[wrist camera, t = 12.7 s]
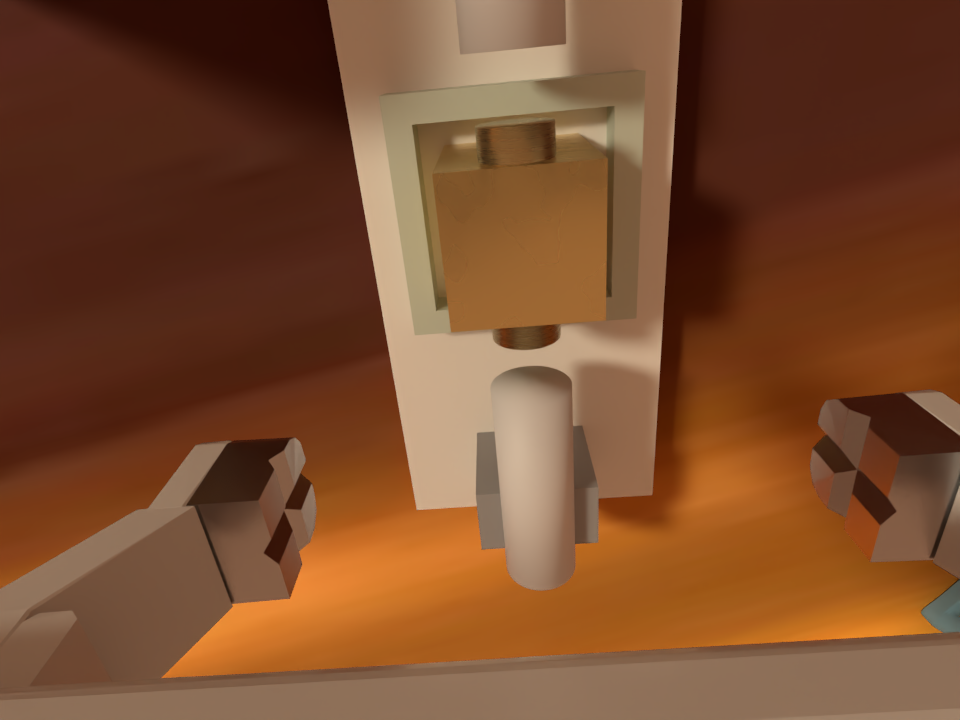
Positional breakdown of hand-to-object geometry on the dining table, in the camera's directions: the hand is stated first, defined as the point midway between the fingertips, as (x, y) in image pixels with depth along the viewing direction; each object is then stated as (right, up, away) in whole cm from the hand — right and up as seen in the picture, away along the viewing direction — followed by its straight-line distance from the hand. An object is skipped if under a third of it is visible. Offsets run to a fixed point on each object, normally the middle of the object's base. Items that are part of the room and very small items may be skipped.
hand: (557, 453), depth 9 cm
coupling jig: (0, +8, +15) cm, 17 cm away
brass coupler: (0, +7, +14) cm, 16 cm away
